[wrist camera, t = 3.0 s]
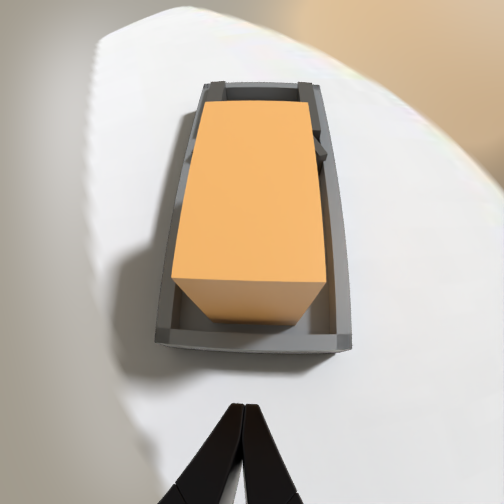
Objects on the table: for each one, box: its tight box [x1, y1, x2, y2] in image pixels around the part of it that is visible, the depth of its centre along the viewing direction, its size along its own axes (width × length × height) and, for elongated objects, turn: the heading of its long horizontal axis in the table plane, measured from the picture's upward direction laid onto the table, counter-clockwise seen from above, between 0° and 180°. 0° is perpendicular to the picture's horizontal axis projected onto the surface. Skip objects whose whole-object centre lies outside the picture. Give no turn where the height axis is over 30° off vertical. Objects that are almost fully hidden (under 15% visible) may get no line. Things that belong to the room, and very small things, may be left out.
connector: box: [171, 101, 326, 325], centre depth 14 cm, size 10×4×8 cm, turn 178°
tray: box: [155, 81, 352, 354], centre depth 19 cm, size 21×10×3 cm, turn 178°
